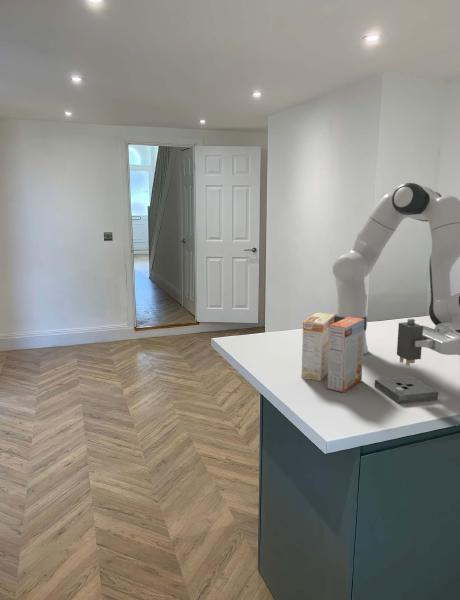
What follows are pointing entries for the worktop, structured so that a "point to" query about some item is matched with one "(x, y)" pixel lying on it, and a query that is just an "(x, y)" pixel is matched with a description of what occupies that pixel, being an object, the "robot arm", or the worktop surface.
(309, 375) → the coffeecake box
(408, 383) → the socket plate
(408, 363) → the plug
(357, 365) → the cracker box
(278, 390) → the worktop surface
